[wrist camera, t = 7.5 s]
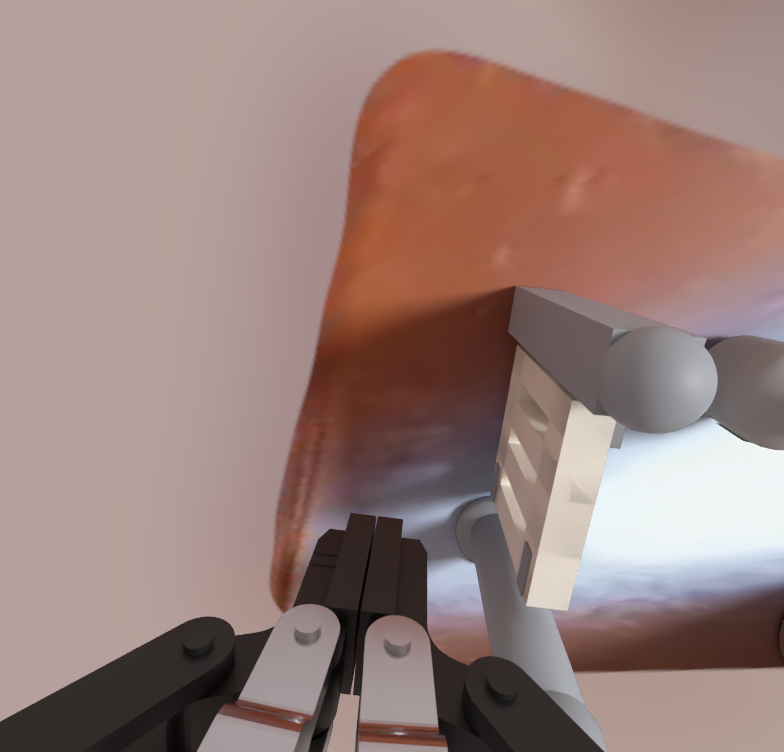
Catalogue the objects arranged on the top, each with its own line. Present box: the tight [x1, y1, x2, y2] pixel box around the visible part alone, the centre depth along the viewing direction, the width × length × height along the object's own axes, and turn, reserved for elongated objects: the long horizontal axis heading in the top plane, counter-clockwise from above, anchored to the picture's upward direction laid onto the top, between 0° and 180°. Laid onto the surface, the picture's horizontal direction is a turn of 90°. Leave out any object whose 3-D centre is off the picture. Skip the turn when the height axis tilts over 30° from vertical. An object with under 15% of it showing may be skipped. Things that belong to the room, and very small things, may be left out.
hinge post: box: [456, 496, 607, 752], centre depth 21 cm, size 5×5×14 cm
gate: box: [490, 345, 616, 611], centre depth 21 cm, size 8×2×9 cm, turn 174°
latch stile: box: [508, 286, 718, 449], centre depth 17 cm, size 4×6×14 cm
